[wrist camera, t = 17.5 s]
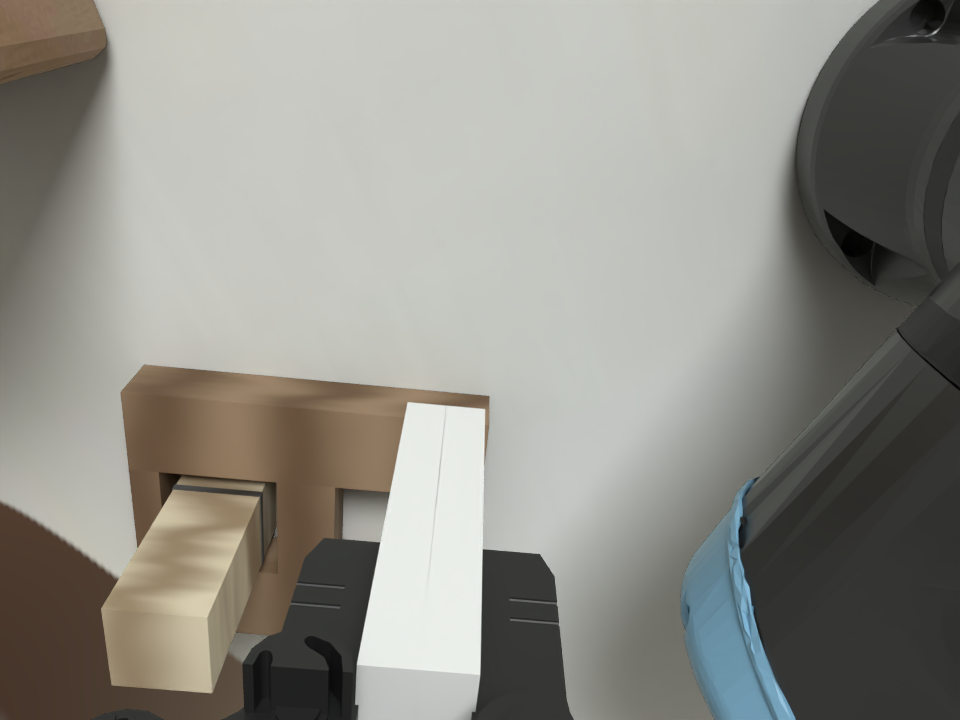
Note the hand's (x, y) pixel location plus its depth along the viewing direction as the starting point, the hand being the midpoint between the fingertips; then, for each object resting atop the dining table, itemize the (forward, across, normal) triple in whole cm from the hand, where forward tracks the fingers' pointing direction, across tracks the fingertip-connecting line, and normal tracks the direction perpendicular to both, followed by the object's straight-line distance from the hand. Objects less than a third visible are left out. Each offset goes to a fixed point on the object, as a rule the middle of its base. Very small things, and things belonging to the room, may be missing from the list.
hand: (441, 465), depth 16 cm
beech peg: (+24, +12, +19) cm, 33 cm away
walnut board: (+24, +7, +19) cm, 32 cm away
